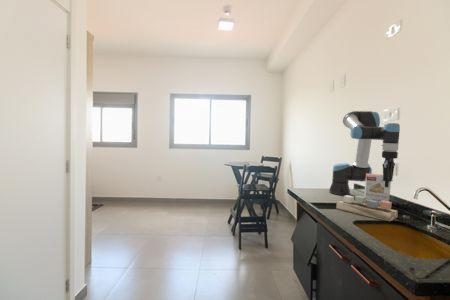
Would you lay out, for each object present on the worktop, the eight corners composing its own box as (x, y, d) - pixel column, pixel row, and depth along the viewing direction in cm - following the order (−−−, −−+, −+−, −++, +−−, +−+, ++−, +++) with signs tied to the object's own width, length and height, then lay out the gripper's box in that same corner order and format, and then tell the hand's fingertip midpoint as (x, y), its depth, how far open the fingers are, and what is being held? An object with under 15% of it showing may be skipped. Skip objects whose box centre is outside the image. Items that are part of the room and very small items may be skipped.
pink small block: (382, 210, 160) (383, 200, 159) (390, 212, 157) (391, 202, 156) (379, 211, 157) (380, 201, 156) (388, 213, 154) (388, 203, 153)
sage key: (357, 205, 170) (358, 195, 170) (365, 206, 167) (365, 197, 166) (354, 206, 167) (355, 196, 167) (362, 207, 164) (362, 198, 164)
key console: (345, 205, 180) (345, 199, 180) (397, 217, 158) (397, 210, 157) (336, 208, 172) (336, 202, 172) (389, 221, 150) (390, 214, 149)
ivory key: (346, 204, 175) (346, 195, 175) (353, 206, 172) (353, 196, 172) (342, 205, 172) (343, 196, 172) (350, 207, 169) (350, 197, 169)
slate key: (369, 209, 165) (370, 199, 165) (377, 211, 162) (378, 201, 161) (366, 210, 162) (367, 200, 162) (374, 212, 159) (375, 202, 158)
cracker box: (364, 206, 181) (366, 174, 179) (363, 203, 186) (365, 173, 185) (388, 209, 176) (391, 176, 174) (387, 206, 181) (389, 175, 180)
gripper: (386, 150, 161) (383, 190, 163) (378, 150, 153) (375, 192, 154) (401, 151, 156) (398, 192, 157) (393, 151, 147) (390, 195, 149)
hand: (386, 192), depth 156 cm, fingers closed
